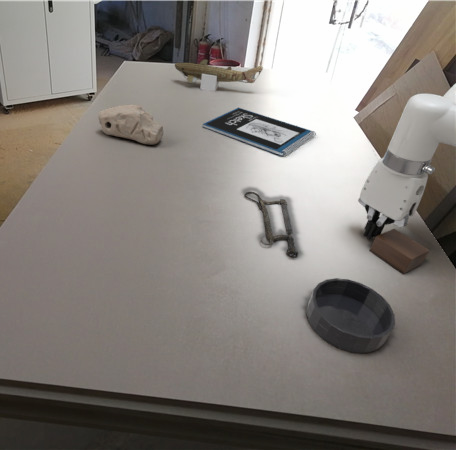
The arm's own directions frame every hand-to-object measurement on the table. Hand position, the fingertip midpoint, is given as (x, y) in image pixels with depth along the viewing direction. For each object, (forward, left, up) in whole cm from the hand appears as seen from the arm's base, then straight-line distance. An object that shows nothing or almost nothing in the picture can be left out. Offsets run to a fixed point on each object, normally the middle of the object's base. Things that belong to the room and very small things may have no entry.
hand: (370, 235), depth 89 cm
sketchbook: (-16, -54, -1) cm, 56 cm away
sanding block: (0, +7, -1) cm, 7 cm away
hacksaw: (+16, -15, -1) cm, 22 cm away
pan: (+24, +13, -1) cm, 27 cm away
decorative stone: (+24, -68, -1) cm, 72 cm away
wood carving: (-28, -94, -1) cm, 98 cm away
